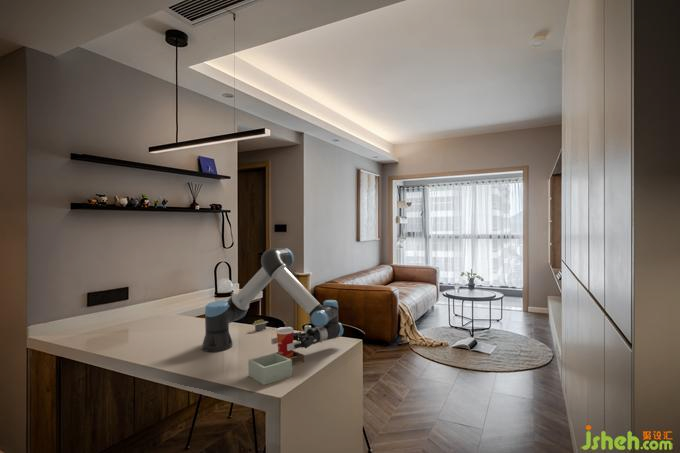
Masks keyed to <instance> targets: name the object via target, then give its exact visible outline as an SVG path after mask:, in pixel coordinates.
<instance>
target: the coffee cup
mask: <svg viewBox="0 0 680 453" xmlns="http://www.w3.org/2000/svg"><path fill="white" fill-rule="evenodd" d="M275 333H276V337H277V341H278V343H277V350H278V351H277V352H278V354H279V355H282V356H284V357H286V358H291V357H292V356H293V351H294V349H293V350H290V351H287V344H291V343H294V340H293V333H295V331H294V328H293V327H292V326H284V327H282V326H281V327H278V328H277V329H276V332H275Z"/></svg>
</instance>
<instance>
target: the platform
mask: <svg viewBox="0 0 680 453" xmlns="http://www.w3.org/2000/svg"><path fill="white" fill-rule="evenodd" d="M267 323H269V321H267V320H263V319H262V318H261V319H258V320H257V319H256V320H254V323H253V322H252V326H254V332H255V331H257V332H260V331H264V330H267ZM263 329H264V330H263ZM259 330H260V331H259Z"/></svg>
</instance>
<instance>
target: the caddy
mask: <svg viewBox="0 0 680 453" xmlns="http://www.w3.org/2000/svg"><path fill="white" fill-rule="evenodd" d="M247 362H248V363H247V366H248V367H247V369H248V377H249V378H252V379H253V380H255V381H256V382H259V383H260V384H261V385H262V384H263V385H264V386H265V385H269V384H271V383H273V382H278V381H280V380H284V379H286V378H289V377H292V376H293V365H292V360H291V359H289V358H286V357H284V356H282V355H279V354H277V353H276V352H273V353H269V354H266V355H262V356H258V357H254V358H251V359H248V360H247Z"/></svg>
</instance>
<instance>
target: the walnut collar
mask: <svg viewBox="0 0 680 453" xmlns="http://www.w3.org/2000/svg"><path fill="white" fill-rule="evenodd" d="M275 353H277V354H278V351H276V352H275ZM289 359H291V360H292V366H294V365H297V364H300V363H304V361H305V354H303V353H301V352H299V351H296V350H293V356H292V357H291V358H289Z"/></svg>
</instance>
